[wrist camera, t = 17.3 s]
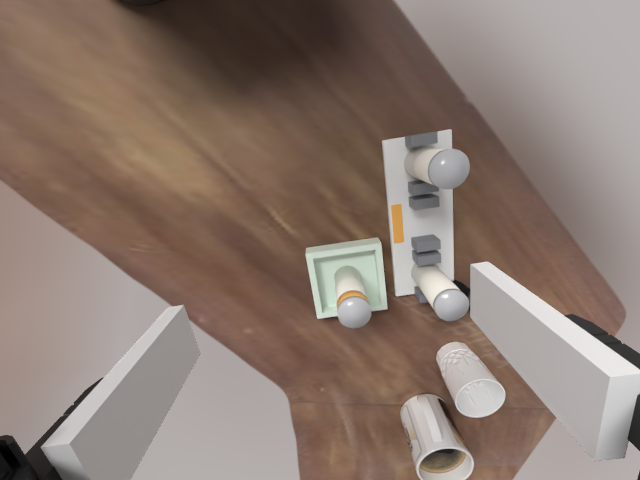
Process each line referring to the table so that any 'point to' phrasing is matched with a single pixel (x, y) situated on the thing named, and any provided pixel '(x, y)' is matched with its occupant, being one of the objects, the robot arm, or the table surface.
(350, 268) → the marked fuse
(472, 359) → the white cup
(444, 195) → the board
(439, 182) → the cream grey cylinder
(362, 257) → the tray
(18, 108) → the table surface
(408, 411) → the mug
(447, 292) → the fuse
